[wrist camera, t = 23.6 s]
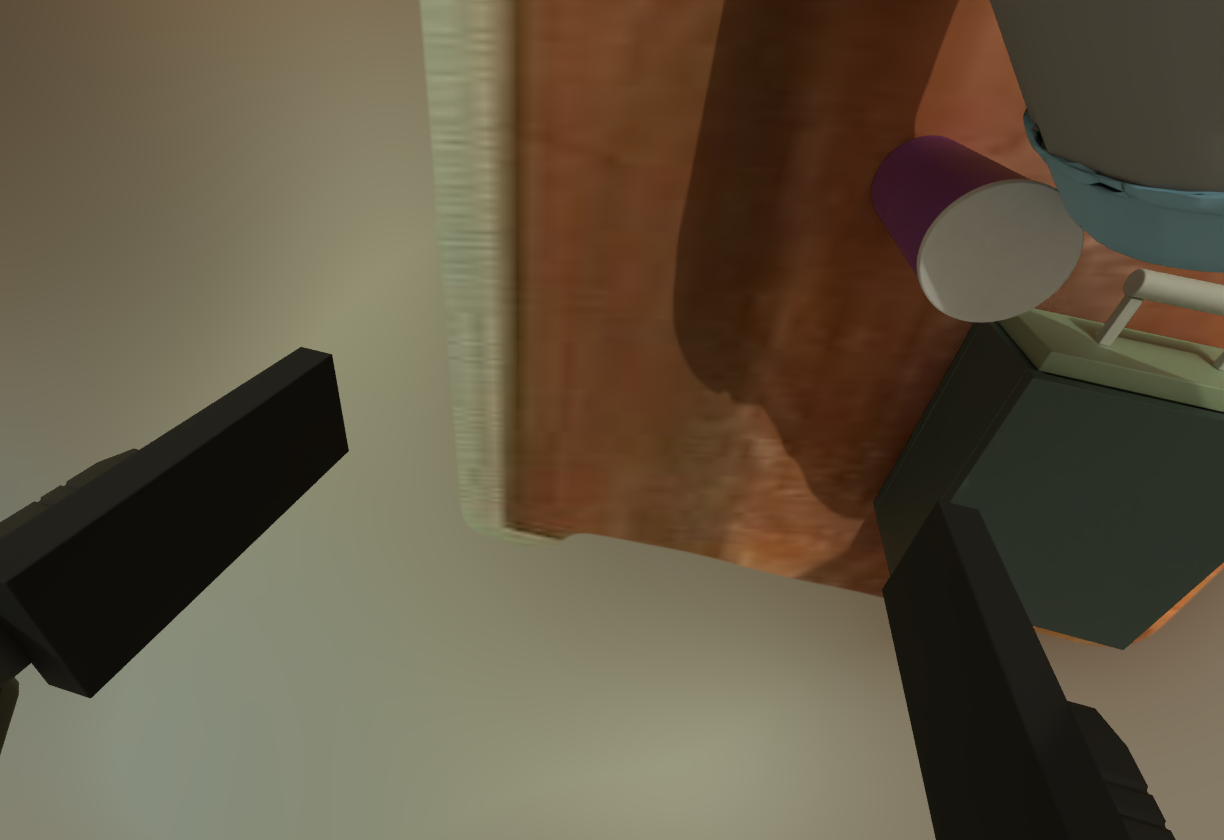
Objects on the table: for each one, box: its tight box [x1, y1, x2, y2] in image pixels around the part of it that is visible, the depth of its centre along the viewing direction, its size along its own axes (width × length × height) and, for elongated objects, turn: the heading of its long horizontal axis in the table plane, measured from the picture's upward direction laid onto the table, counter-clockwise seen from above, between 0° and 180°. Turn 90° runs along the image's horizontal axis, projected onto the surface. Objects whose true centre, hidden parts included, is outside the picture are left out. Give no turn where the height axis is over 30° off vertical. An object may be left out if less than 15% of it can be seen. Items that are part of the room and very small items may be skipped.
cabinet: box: [873, 321, 1224, 650], centre depth 36 cm, size 17×15×9 cm
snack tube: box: [871, 136, 1084, 323], centre depth 27 cm, size 5×5×14 cm
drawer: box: [997, 269, 1224, 414], centre depth 34 cm, size 20×14×7 cm
